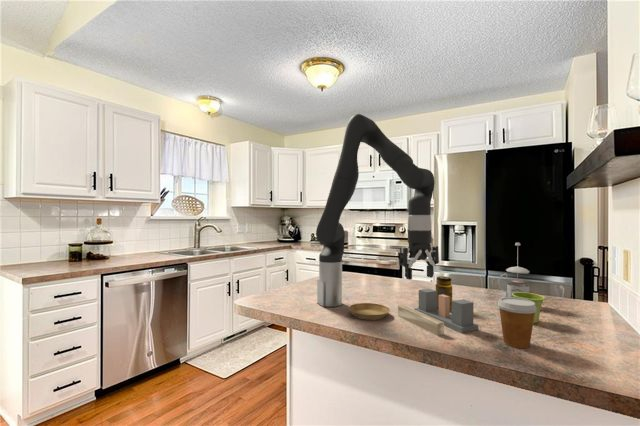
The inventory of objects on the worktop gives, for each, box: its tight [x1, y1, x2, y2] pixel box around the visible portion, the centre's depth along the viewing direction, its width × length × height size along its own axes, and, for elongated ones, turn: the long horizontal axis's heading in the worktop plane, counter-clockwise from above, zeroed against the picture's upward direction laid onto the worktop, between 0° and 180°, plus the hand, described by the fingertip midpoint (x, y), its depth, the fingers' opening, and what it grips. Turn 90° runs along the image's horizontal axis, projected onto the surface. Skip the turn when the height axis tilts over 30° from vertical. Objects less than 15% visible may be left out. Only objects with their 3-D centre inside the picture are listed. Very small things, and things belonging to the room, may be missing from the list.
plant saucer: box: [348, 302, 391, 321], centre depth 117 cm, size 15×15×3 cm
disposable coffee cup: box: [497, 296, 537, 349], centre depth 92 cm, size 10×10×12 cm
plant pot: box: [512, 291, 546, 324], centre depth 111 cm, size 9×9×9 cm
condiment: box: [435, 275, 453, 312], centre depth 125 cm, size 7×8×12 cm
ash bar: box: [397, 304, 445, 337], centre depth 107 cm, size 2×20×4 cm, turn 22°
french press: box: [497, 242, 530, 298], centre depth 130 cm, size 10×12×25 cm
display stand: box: [414, 288, 479, 334], centre depth 111 cm, size 7×22×8 cm, turn 23°
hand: (419, 278), depth 107 cm, fingers open, 8 cm apart
